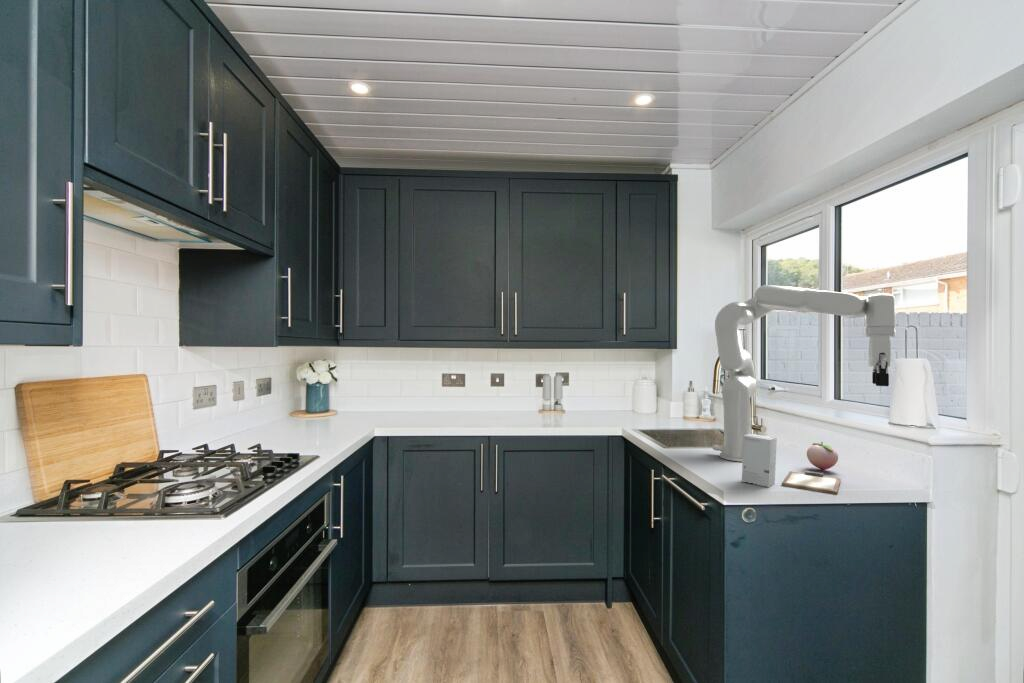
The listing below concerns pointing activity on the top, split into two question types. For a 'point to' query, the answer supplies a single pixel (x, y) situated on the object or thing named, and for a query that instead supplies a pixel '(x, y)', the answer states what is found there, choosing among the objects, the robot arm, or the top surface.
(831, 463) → the decorative fruit
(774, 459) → the skincare box
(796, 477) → the clipboard
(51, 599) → the top surface
